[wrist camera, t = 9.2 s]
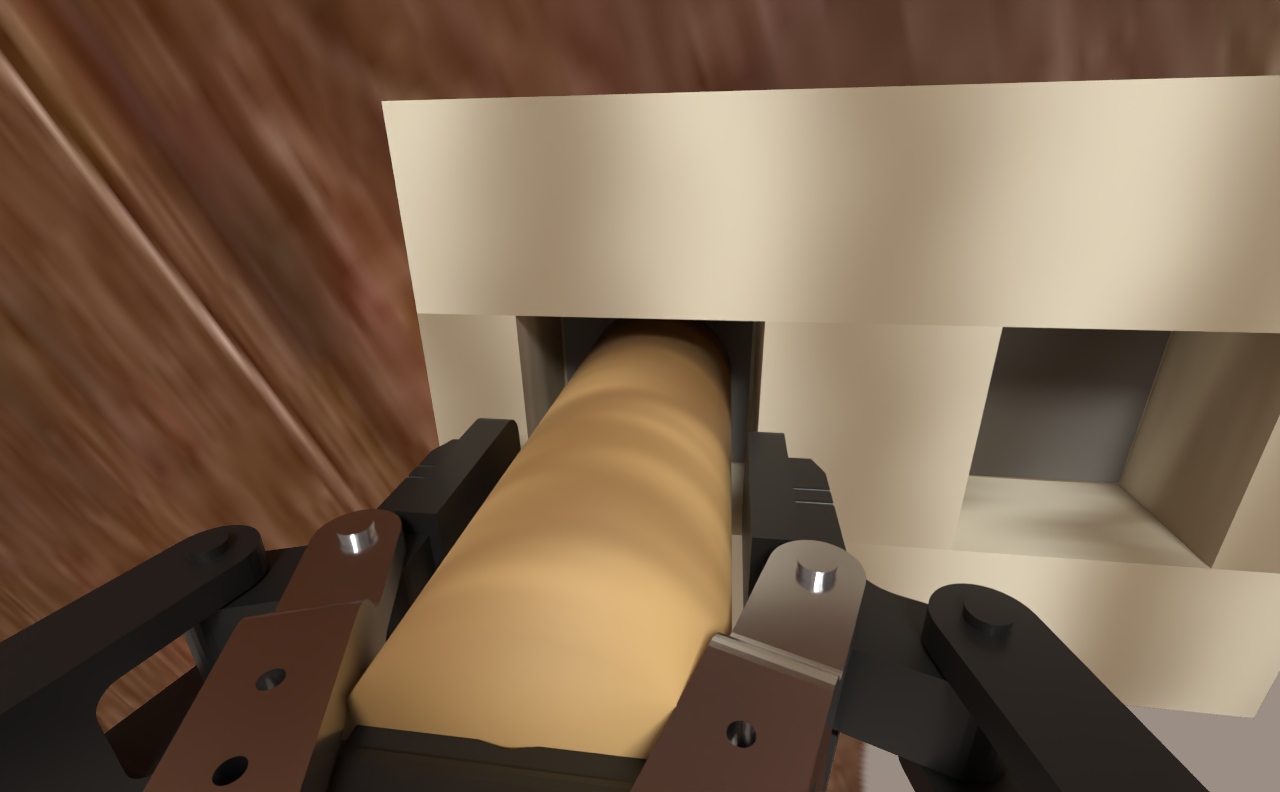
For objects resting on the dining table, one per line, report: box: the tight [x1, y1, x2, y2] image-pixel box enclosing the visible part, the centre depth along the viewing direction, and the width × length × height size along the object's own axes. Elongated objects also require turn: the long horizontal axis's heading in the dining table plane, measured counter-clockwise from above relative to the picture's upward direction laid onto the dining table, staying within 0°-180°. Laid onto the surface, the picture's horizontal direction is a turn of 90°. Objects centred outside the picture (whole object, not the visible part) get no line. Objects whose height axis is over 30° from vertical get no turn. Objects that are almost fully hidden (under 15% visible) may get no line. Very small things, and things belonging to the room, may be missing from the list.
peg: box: [341, 318, 732, 759], centre depth 11 cm, size 4×4×12 cm
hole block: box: [382, 75, 1280, 718], centre depth 15 cm, size 20×14×4 cm
